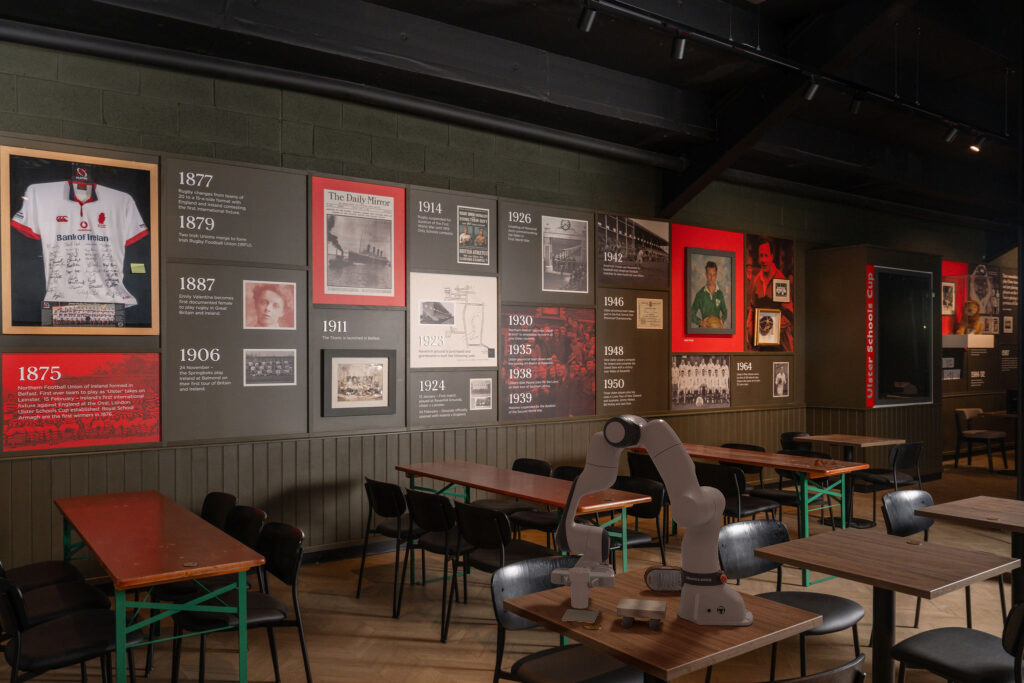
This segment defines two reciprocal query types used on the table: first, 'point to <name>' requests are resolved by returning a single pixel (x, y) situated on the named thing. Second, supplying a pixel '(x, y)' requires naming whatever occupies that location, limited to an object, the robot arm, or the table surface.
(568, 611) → the pad
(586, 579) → the cup
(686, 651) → the table surface
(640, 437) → the robot arm
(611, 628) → the table surface
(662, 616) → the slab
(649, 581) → the tin
